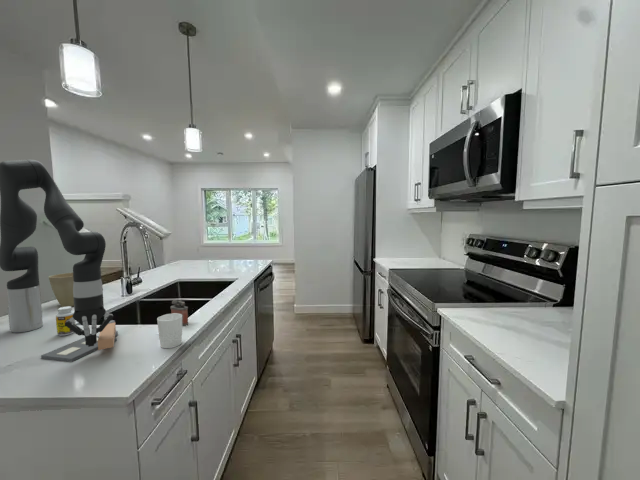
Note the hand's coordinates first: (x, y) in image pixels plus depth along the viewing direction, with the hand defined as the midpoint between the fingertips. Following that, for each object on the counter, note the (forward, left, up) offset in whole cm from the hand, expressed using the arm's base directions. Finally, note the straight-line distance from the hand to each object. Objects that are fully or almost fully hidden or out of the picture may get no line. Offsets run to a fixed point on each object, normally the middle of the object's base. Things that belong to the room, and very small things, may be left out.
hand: (91, 345), depth 97 cm
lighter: (+10, +30, -3) cm, 32 cm away
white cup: (+20, +12, -3) cm, 24 cm away
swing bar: (-2, +7, -2) cm, 8 cm away
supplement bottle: (-27, +13, -3) cm, 30 cm away
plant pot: (-63, +43, -3) cm, 76 cm away
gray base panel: (-8, +5, -3) cm, 10 cm away
